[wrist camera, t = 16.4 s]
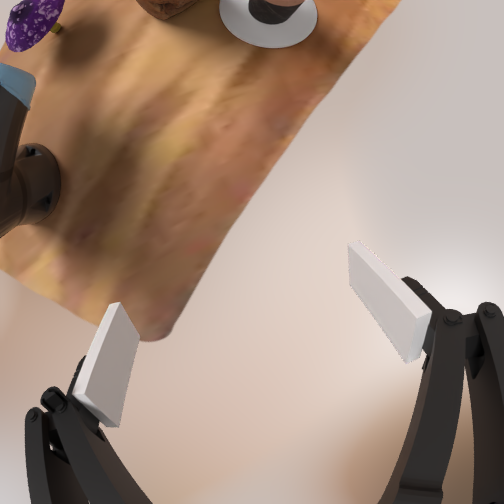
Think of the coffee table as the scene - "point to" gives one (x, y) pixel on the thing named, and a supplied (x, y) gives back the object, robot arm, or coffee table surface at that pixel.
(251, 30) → the place mat
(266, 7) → the travel mug
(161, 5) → the block
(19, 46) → the decorative mushroom
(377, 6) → the coffee table surface
